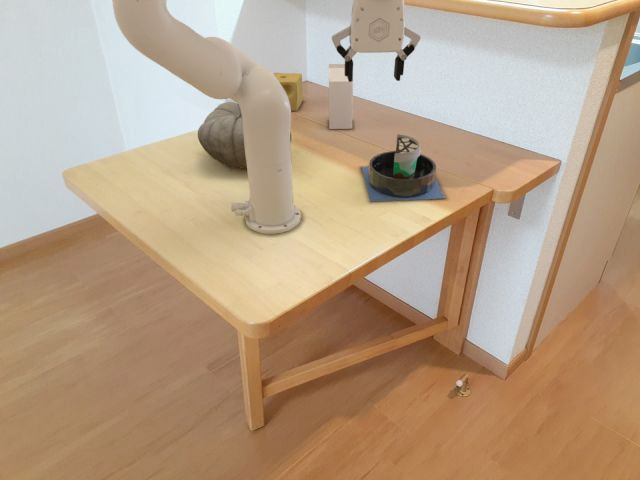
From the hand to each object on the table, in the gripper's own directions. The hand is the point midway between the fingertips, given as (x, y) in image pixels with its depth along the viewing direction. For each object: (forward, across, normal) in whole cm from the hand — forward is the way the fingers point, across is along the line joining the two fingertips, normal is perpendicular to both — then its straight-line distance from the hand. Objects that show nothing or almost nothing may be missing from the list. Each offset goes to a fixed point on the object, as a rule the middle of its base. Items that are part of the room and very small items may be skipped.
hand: (373, 79), depth 104 cm
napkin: (+30, +10, +10) cm, 33 cm away
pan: (+30, +10, +10) cm, 33 cm away
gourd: (+30, -29, +28) cm, 51 cm away
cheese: (+30, -18, +69) cm, 77 cm away
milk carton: (+30, -1, +50) cm, 58 cm away
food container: (+29, +12, +10) cm, 33 cm away
